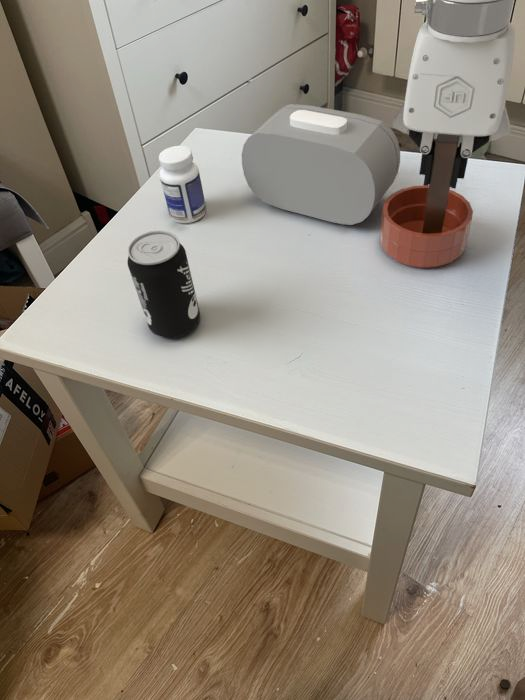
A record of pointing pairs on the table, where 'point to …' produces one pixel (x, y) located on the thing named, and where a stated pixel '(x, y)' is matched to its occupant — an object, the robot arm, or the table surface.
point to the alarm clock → (321, 162)
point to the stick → (440, 182)
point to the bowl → (407, 224)
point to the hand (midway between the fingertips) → (441, 179)
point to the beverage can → (163, 283)
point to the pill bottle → (181, 184)
